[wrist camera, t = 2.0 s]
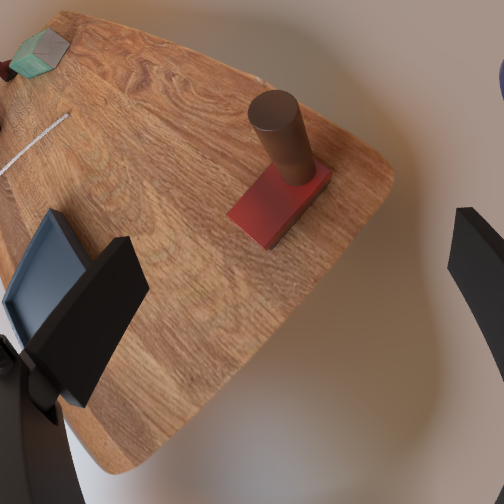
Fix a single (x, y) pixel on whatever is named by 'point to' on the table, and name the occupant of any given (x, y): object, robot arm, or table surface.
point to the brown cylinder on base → (279, 171)
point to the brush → (34, 142)
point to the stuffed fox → (6, 71)
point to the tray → (44, 275)
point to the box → (39, 54)
